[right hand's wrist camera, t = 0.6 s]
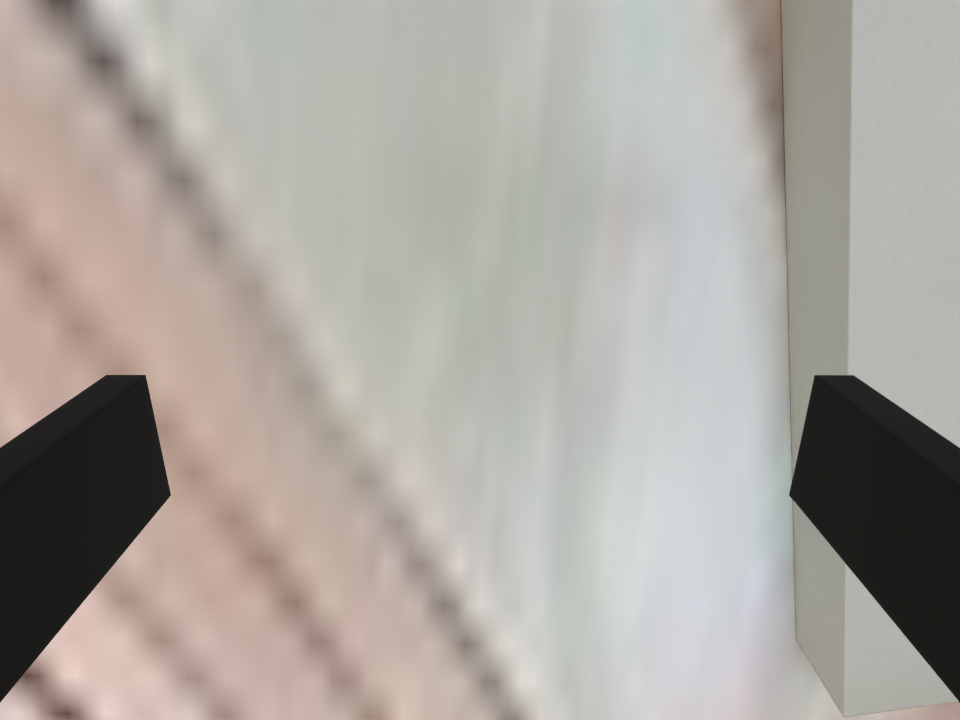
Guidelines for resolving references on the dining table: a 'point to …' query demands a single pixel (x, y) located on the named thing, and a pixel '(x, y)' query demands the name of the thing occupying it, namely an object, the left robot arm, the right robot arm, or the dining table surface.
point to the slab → (870, 282)
